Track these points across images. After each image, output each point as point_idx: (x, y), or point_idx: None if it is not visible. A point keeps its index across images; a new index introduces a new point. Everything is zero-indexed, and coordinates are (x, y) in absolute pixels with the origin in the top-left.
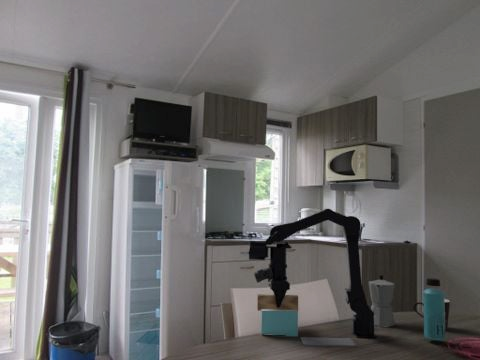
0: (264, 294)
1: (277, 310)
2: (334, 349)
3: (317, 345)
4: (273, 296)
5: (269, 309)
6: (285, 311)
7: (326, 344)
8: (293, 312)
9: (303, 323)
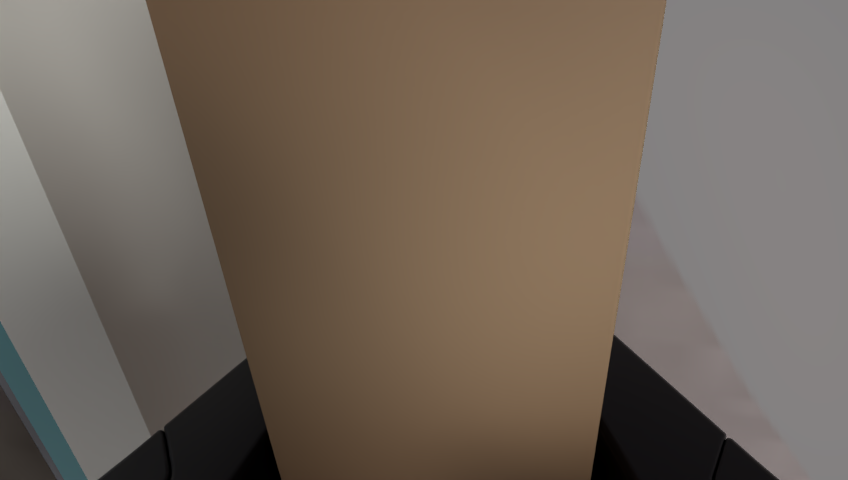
0: (659, 37)
1: (5, 278)
2: (3, 474)
3: (20, 405)
4: (271, 420)
5: (7, 112)
6: (15, 395)
7: (47, 458)
8: (79, 477)
9: (696, 406)
